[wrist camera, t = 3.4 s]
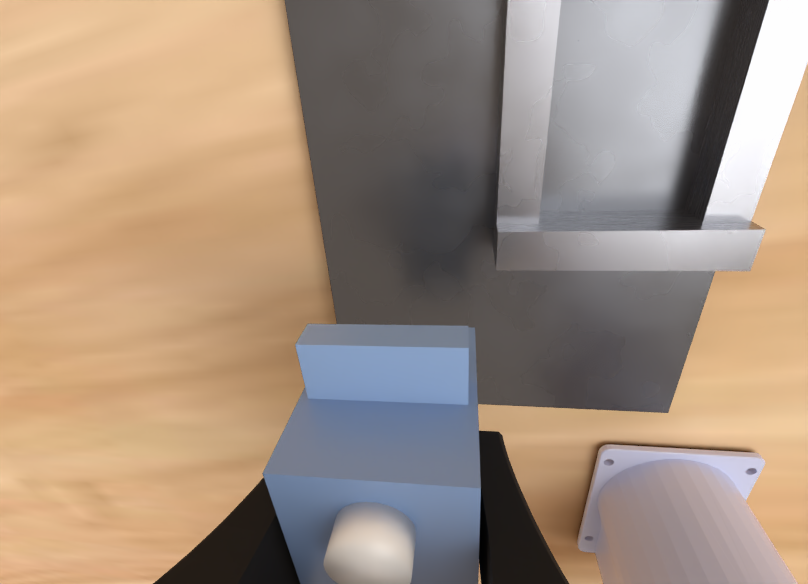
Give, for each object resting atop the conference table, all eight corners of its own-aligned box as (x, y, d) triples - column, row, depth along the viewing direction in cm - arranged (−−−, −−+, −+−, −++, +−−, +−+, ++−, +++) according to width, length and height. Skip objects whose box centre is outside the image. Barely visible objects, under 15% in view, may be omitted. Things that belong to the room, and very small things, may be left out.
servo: (472, 500, 15) (476, 720, 10) (364, 493, 16) (316, 697, 11) (475, 279, 11) (484, 468, 6) (327, 279, 11) (217, 452, 6)
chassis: (661, 401, 21) (689, 449, 18) (352, 387, 23) (338, 429, 21) (834, -147, 11) (943, -208, 9) (280, -80, 14) (236, -113, 11)
